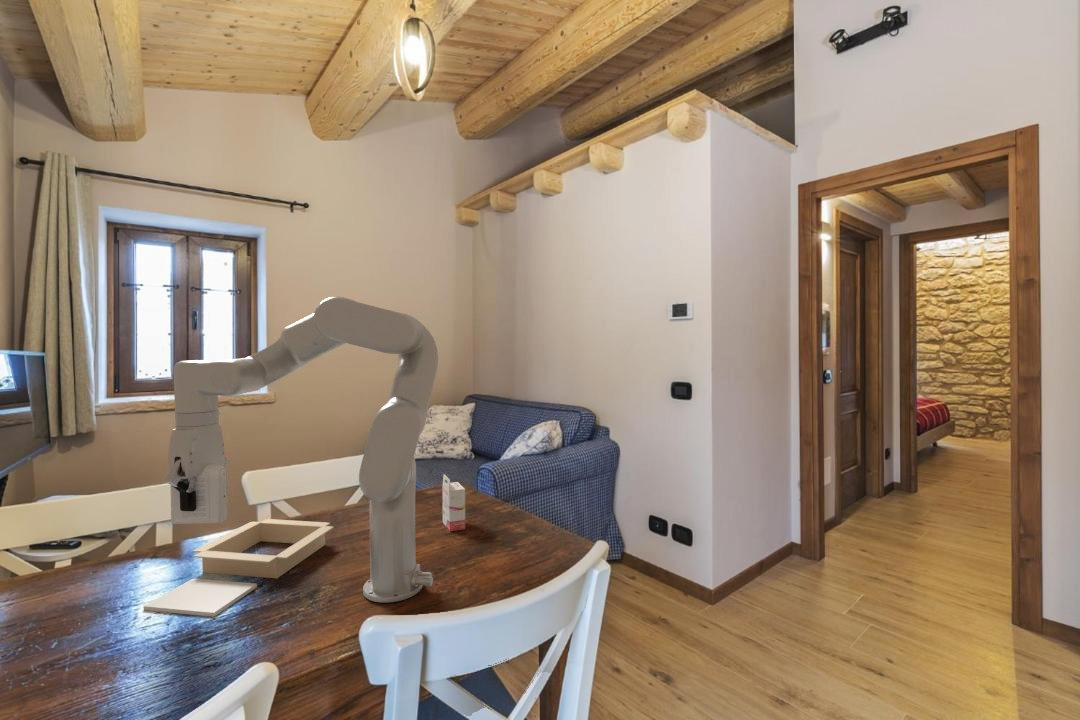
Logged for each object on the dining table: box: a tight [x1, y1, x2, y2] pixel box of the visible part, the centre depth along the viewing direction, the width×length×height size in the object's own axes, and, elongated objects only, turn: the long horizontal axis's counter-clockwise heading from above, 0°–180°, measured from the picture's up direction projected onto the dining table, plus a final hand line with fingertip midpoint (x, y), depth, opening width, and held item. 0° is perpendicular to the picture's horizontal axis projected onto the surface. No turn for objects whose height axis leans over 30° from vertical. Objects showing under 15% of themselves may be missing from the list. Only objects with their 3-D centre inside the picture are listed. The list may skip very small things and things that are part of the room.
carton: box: [192, 518, 335, 579], centre depth 127 cm, size 24×24×5 cm
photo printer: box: [169, 464, 228, 525], centre depth 106 cm, size 10×4×12 cm, turn 97°
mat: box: [143, 578, 258, 618], centre depth 107 cm, size 16×12×1 cm
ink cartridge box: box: [442, 473, 466, 532], centre depth 148 cm, size 9×5×15 cm, turn 25°
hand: (200, 504), depth 106 cm, fingers closed on photo printer, 5 cm apart
